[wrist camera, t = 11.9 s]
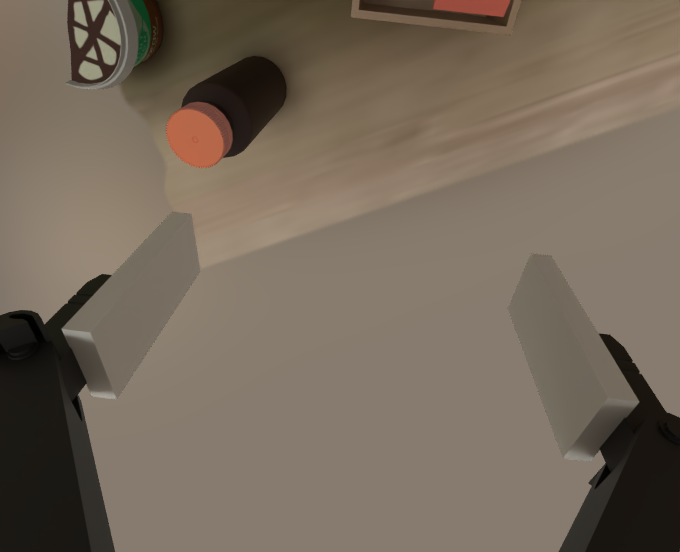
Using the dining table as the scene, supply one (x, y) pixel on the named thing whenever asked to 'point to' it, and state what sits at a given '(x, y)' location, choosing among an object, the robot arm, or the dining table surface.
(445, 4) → the lid
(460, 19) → the carton
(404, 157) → the dining table surface
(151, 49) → the food container
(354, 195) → the dining table surface
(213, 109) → the bottle
